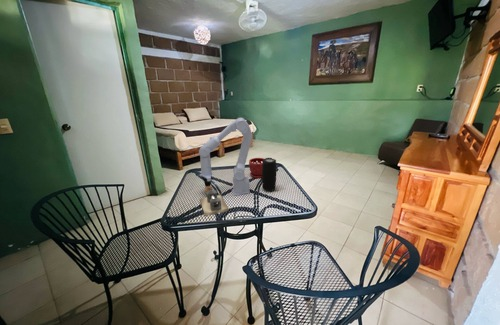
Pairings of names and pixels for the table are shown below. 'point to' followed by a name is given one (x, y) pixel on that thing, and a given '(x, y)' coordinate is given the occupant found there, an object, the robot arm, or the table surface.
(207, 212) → the bearing board
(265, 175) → the portable speaker
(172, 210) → the table surface
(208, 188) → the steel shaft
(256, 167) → the plant pot
